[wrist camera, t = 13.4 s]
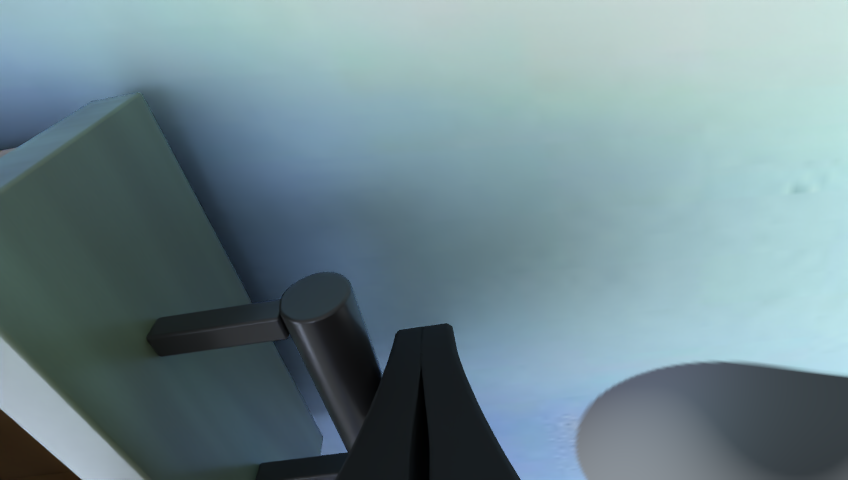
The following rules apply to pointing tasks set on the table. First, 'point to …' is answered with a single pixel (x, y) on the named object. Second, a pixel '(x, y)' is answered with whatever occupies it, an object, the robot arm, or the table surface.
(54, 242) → the drawer
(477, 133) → the table surface
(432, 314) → the table surface
